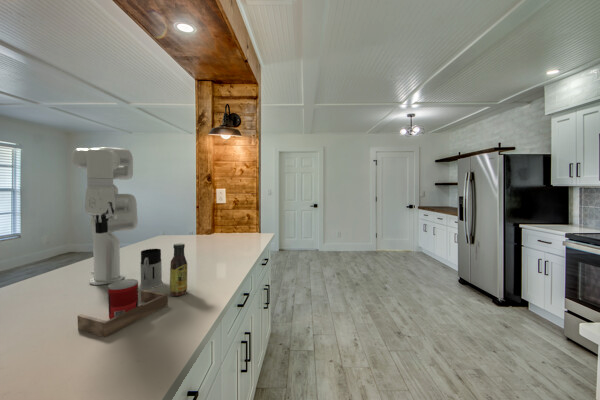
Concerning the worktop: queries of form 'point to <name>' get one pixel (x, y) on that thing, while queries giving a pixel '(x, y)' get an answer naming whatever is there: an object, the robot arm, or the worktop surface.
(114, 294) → the canned food
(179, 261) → the sauce bottle
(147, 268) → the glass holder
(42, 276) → the worktop surface
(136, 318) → the wooden corner frame
